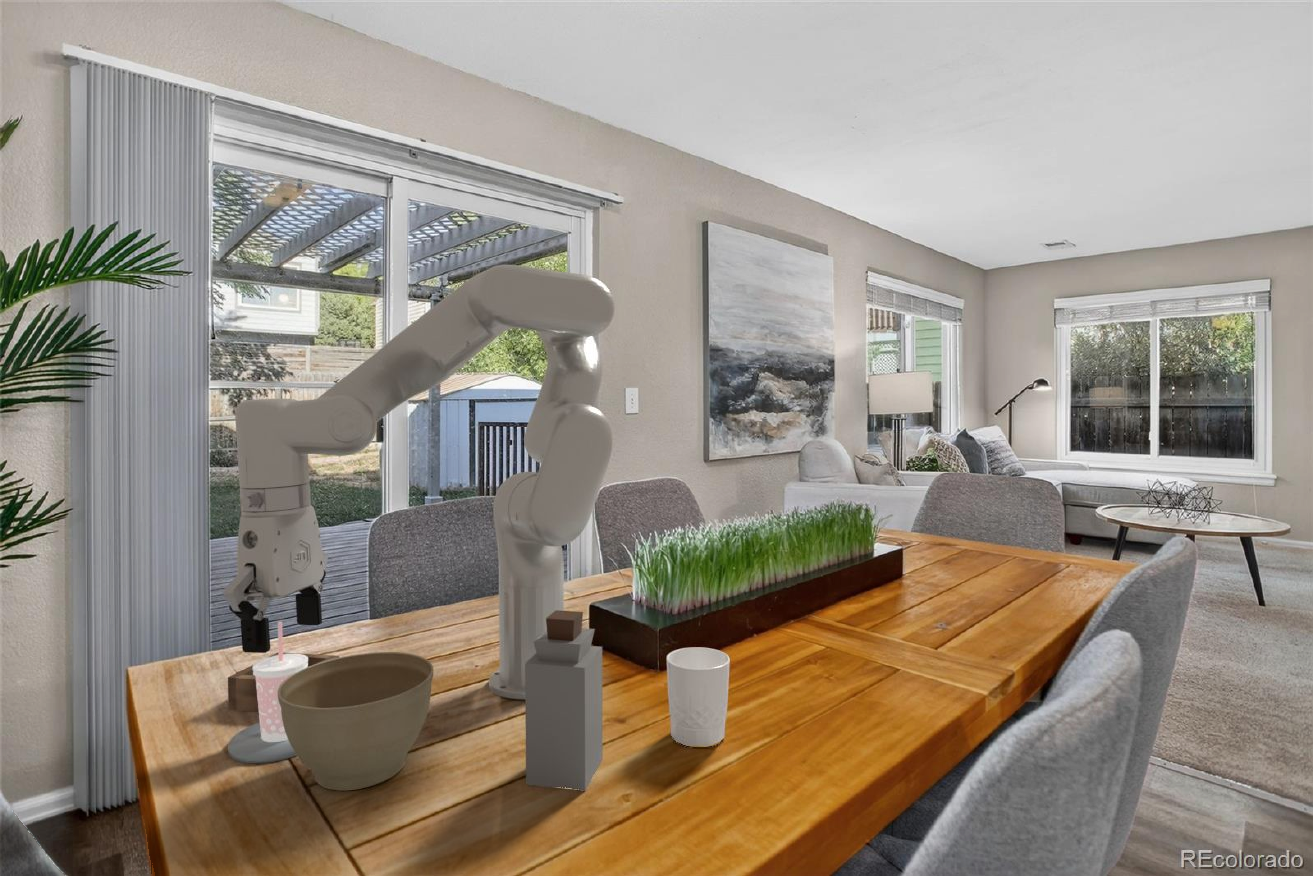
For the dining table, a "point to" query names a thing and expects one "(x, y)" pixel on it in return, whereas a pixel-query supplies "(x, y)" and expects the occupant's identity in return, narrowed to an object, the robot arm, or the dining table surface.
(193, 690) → the dining table surface
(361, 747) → the planter bowl
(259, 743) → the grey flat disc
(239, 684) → the square wooden frame
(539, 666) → the perfume bottle
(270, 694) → the beverage cup
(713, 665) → the white cup
